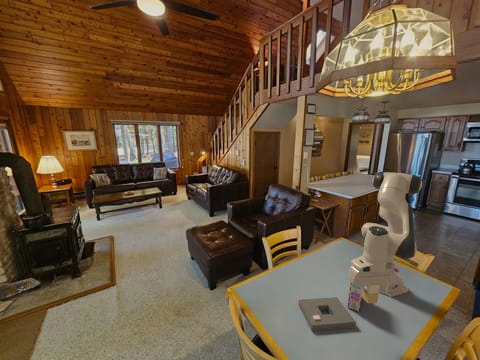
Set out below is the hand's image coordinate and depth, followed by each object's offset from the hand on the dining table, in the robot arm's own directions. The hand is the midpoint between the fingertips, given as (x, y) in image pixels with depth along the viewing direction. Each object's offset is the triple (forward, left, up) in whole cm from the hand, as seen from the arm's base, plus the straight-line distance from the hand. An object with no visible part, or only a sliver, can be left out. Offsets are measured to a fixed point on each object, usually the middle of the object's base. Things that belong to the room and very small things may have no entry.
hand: (369, 291), depth 92 cm
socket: (+14, -10, -21) cm, 27 cm away
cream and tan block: (0, 0, -4) cm, 4 cm away
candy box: (-7, -17, -21) cm, 28 cm away
